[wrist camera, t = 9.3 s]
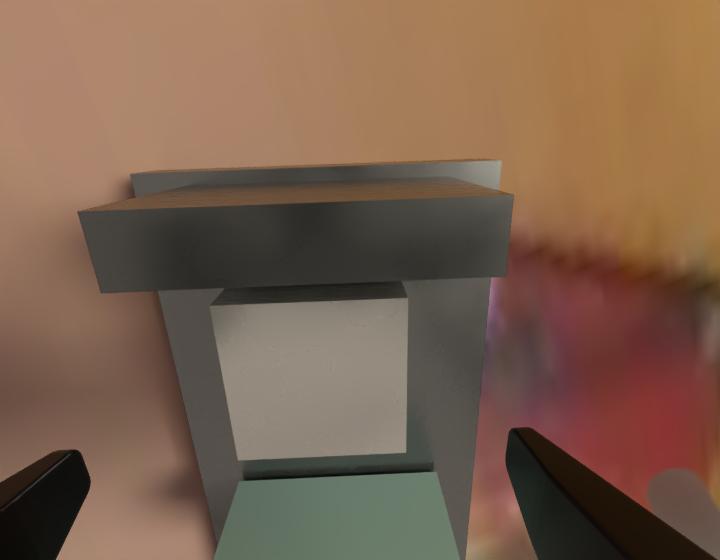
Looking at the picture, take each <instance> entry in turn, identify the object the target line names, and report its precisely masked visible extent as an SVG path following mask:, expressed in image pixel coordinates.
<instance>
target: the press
mask: <svg viewBox="0 0 720 560" xmlns="http://www.w3.org/2000/svg"><path fill="white" fill-rule="evenodd" d="M501 162H502V160H492V159H464V160H437V161H409V162H381V163H354V164H326V165H299V166H271V167H243V168H216V169H188V170H161V171H149V172H141V173H133V174H130V176H131V180H132V184H133V188H134V193H135V197H136V198H132V199H128V200H124V201H120V202H115V203H111V204H107V205H103V206H99V207H94V208H90V209H86V210H82V211H78V215H79V219H80V222H81V226H82V229H83V232H84V236H85V239H86V243H87V246H88V250H89V253H90V257H91V260H92V263H93V267H94V270H95V274H96V277H97V281H98V284H99V288H100V291H101V293H117V292H142V291H158V295H159V299H160V304H161V308H162V312H163V316H164V321H165V325H166V329H167V333H168V338H169V342H170V346H171V351H172V355H173V359H174V363H175V368H176V372H177V376H178V380H179V385H180V389H181V393H182V397H183V402H184V406H185V410H186V414H187V419H188V423H189V427H190V432H191V436H192V440H193V444H194V449H195V453H196V457H197V461H198V466H199V470H200V474H201V478H202V483H203V487H204V491H205V495H206V500H207V504H208V508H209V513H210V517H211V521H212V525H213V530H214V534H215V538H216V542H217V547H218V544H219V541H220V538H221V535H222V532H223V529H224V526H225V523H226V520H227V516H228V513H229V510H230V507H231V504H232V501H233V498H234V495H235V492H236V489H237V486H238V483H239V481H256V480H277V479H297V478H318V477H339V476H359V475H380V474H401V473H421V472H437V475H438V479H439V483H440V486H441V490H442V494H443V498H444V501H445V505H446V509H447V512H448V516H449V520H450V524H451V527H452V531H453V535H454V538H455V542H456V546H457V550H458V553H459V557H460V560H465V557H466V546H467V535H468V524H469V513H470V502H471V491H472V480H473V469H474V458H475V447H476V436H477V425H478V414H479V403H480V392H481V381H482V370H483V360H484V349H485V338H486V327H487V316H488V305H489V294H490V283H491V277H505V276H506V266H507V257H508V247H509V238H510V228H511V219H512V209H513V200H514V195H512V194H509V193H505V192H502V191H499V184H500V173H501ZM387 281H402V284H403V286H404V289H405V291H406V294H407V296H408V347H407V423H406V453H390V454H368V455H346V456H325V457H303V458H281V459H260V460H238V458H237V453H236V447H235V442H234V436H233V431H232V425H231V420H230V415H229V409H228V404H227V398H226V393H225V388H224V382H223V377H222V371H221V366H220V360H219V355H218V350H217V344H216V339H215V333H214V328H213V322H212V317H211V312H210V305H211V304H212V302H213V301H214V300H215V299H216V298H217V297H218V296H219V294H220V293H221V292H222V291H223V290H224V289H225V288H240V287H264V286H289V285H313V284H338V283H362V282H387Z"/></svg>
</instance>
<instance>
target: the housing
mask: <svg viewBox="0 0 720 560" xmlns="http://www.w3.org/2000/svg"><path fill="white" fill-rule="evenodd" d="M210 312H211V317H212V322H213V328H214V333H215V339H216V344H217V350H218V355H219V360H220V366H221V371H222V377H223V382H224V388H225V393H226V398H227V404H228V409H229V415H230V420H231V425H232V431H233V436H234V442H235V447H236V453H237V458H238V460H260V459H281V458H303V457H325V456H346V455H368V454H390V453H406V423H407V347H408V296H407V294H406V291H405V289H404V286H403V284H402V281H387V282H362V283H338V284H313V285H289V286H264V287H240V288H225V289H224V290H223V291H222V292H221V293H220V294H219V296H218V297H217V298H216V299H215V300H214V301H213V302H212V304H211V305H210Z"/></svg>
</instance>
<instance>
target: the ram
mask: <svg viewBox="0 0 720 560" xmlns="http://www.w3.org/2000/svg"><path fill="white" fill-rule="evenodd" d="M213 560H460V557H459V553H458V550H457V546H456V542H455V538H454V535H453V531H452V527H451V524H450V520H449V516H448V512H447V509H446V505H445V501H444V498H443V494H442V490H441V486H440V483H439V479H438V475H437V472H421V473H401V474H380V475H359V476H339V477H318V478H297V479H277V480H256V481H239V483H238V486H237V489H236V492H235V495H234V498H233V501H232V504H231V507H230V510H229V513H228V516H227V520H226V523H225V526H224V529H223V532H222V535H221V538H220V541H219V544H218V547H217V550H216V553H215V556H214V559H213Z"/></svg>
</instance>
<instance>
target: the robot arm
mask: <svg viewBox="0 0 720 560" xmlns="http://www.w3.org/2000/svg"><path fill="white" fill-rule="evenodd" d="M505 460H506V467H507V471H508V474H509V477H510V480H511V483H512V486H513V489H514V492H515V495H516V498H517V501H518V504H519V507H520V510H521V513H522V516H523V519H524V522H525V525H526V528H527V531H528V534H529V537H530V540H531V543H532V545H533V548H534V551H535V553H536V555H537V558H538V560H717V559H716V558H714V557H713V556H712V555H710V554H709V553H707V552H706V551H705V550H703V549H702V548H700V547H699V546H698V545H696V544H695V543H693V542H692V541H690V540H689V539H687V538H686V537H685V536H683V535H682V534H681V533H679V532H678V531H676V530H675V529H673V528H672V527H671V526H669V525H668V524H666V523H665V522H664V521H662V520H661V519H659V518H658V517H657V516H655V515H654V514H652V513H651V512H650V511H648V510H647V509H645V508H644V507H642V506H641V505H640V504H638V503H637V502H635V501H634V500H633V499H631V498H630V497H628V496H627V495H625V494H624V493H623V492H621V491H620V490H618V489H617V488H616V487H614V486H613V485H611V484H610V483H609V482H607V481H606V480H604V479H603V478H601V477H600V476H599V475H597V474H596V473H594V472H593V471H592V470H590V469H589V468H587V467H586V466H584V465H583V464H582V463H580V462H579V461H577V460H576V459H575V458H573V457H572V456H570V455H569V454H568V453H566V452H565V451H563V450H562V449H560V448H559V447H558V446H556V445H555V444H553V443H552V442H551V441H549V440H548V439H546V438H545V437H543V436H542V435H541V434H539V433H538V432H536V431H535V430H533V429H532V428H529V427H522V428H512V429H511V430H510V431H509V434H508V442H507V450H506V459H505ZM90 483H91V480H90V476H89V473H88V470H87V468H86V465H85V462H84V460H83V457H82V455H81V453H80V452H79V451H78V450H58V451H54V452H52V453H50V454H48V455H47V456H45V457H43V458H42V459H40V460H38V461H36V462H35V463H33V464H31V465H30V466H28V467H26V468H24V469H23V470H21V471H19V472H18V473H16V474H14V475H12V476H11V477H9V478H7V479H6V480H4V481H2V482H1V483H0V560H56V558H57V556H58V554H59V552H60V550H61V548H62V546H63V544H64V542H65V539H66V537H67V535H68V533H69V531H70V529H71V527H72V525H73V523H74V521H75V519H76V517H77V515H78V513H79V511H80V508H81V506H82V504H83V502H84V500H85V498H86V496H87V494H88V492H89V489H90Z"/></svg>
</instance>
